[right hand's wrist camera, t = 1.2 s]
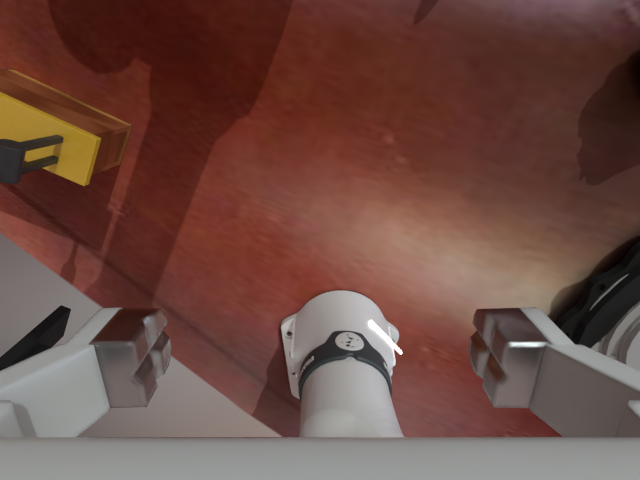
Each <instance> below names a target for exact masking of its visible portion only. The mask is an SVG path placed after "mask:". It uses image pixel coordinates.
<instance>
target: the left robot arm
mask: <svg viewBox="0 0 640 480" xmlns="http://www.w3.org/2000/svg"><path fill="white" fill-rule="evenodd" d="M70 311H71V309H69V308H67V307H64V306H60V307H59V308H57V309H56V310H55V311H54V312H53V313H52V314H50V315H49V316H48V317H47V318H46V319H45V320H43V321H42V322H41V323H40V324H39V325H38V326H36V327H35V328H34V329H33V330H32V331H31V332H29V333H28V334H27V335H26V336H25V337H24V338H23V339H21V340H20V341H19V342H18V343H17V344H15V345H14V346H13V347H12V348H11V349H10V350H9V351H7V352H6V353H5V354H4V355H3V356H2V357H0V371H1V370H3V369H6V368H8V367H10V366H12V365H14V364H17V363H19V362H21V361H23V360H25V359H28V358H30V357H32V356H34V355H37V354H39V353H41V352H43V351H45V350H48V349H50V348H52V347H53V346H54V345H55V344H56V343H57V342H58V341H59V340H60V339H61V338H62V337H63V335H64V332H65V328H66V325H67V321H68V318H69V314H70Z"/></svg>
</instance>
